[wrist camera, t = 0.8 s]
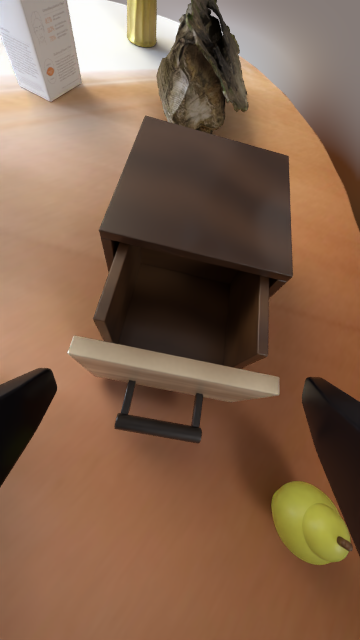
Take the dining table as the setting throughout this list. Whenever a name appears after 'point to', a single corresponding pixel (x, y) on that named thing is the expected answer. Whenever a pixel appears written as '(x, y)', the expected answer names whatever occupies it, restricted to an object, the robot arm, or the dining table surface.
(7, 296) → the dining table surface
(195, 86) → the grey rough hollow block
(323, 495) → the pear
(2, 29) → the small box
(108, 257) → the cabinet
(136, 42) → the vase
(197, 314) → the drawer
